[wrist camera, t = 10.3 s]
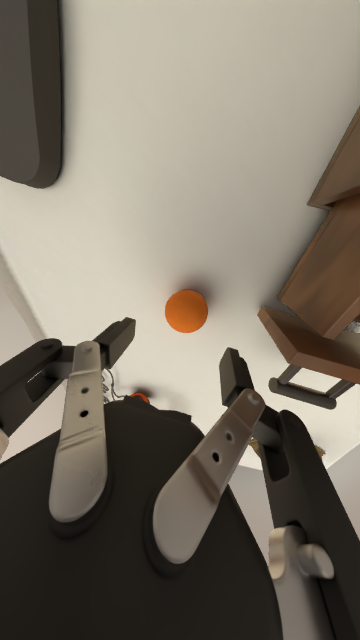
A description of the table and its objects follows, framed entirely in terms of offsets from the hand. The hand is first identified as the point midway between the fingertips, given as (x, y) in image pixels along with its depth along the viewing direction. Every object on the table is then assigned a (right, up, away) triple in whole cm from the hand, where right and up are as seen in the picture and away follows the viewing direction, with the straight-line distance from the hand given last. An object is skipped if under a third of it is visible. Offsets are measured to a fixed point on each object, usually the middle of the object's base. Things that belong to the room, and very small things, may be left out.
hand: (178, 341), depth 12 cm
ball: (+1, +3, +5) cm, 6 cm away
